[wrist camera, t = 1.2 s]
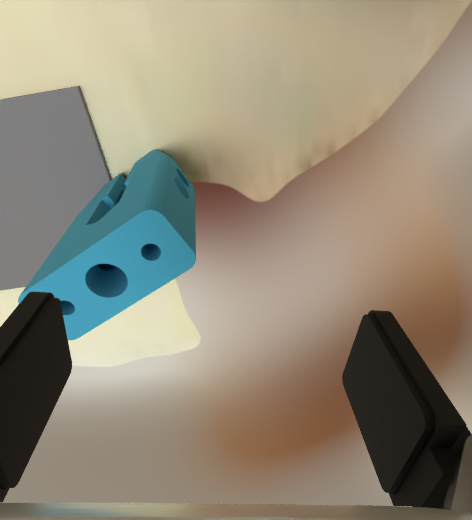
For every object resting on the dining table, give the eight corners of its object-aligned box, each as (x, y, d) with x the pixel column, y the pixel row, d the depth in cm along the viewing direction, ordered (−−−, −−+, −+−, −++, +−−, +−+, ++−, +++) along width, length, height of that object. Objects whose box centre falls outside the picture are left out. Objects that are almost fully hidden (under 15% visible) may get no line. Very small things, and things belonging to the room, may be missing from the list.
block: (118, 228, 43) (68, 344, 26) (88, 196, 41) (11, 300, 24) (197, 174, 41) (201, 261, 24) (171, 136, 38) (153, 203, 21)
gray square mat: (79, 86, 36) (77, 86, 35) (141, 267, 47) (140, 269, 46) (-125, 121, 37) (-130, 122, 36) (-16, 290, 48) (-19, 293, 47)
